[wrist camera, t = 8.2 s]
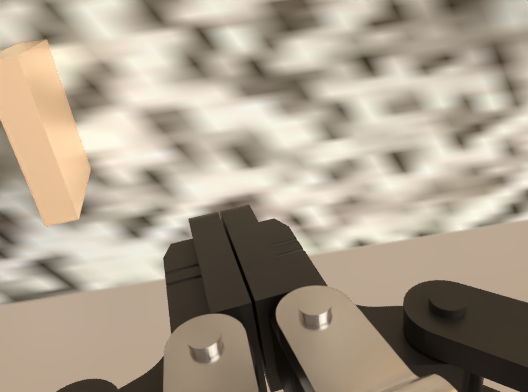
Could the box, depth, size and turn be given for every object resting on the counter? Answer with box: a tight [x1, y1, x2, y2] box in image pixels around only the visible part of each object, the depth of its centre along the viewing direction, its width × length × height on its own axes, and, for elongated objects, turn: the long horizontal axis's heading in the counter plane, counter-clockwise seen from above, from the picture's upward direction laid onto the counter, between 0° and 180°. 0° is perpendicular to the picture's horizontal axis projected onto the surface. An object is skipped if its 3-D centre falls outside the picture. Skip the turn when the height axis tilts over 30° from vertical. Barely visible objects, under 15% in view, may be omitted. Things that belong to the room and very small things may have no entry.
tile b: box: [0, 39, 91, 227], centre depth 23 cm, size 8×2×7 cm, turn 8°
